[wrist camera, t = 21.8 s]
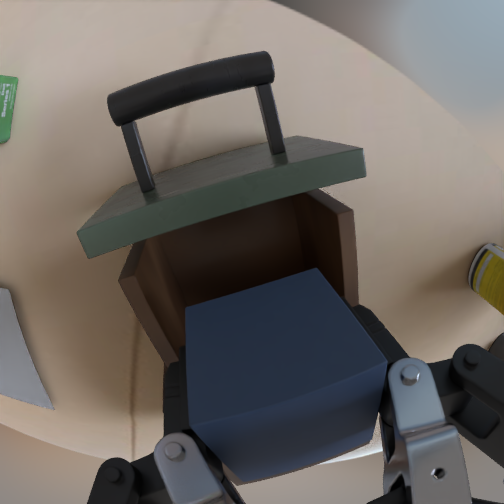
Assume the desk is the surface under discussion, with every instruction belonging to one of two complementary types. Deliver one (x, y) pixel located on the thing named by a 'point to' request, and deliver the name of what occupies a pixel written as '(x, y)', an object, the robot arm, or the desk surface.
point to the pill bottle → (489, 275)
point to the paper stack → (17, 360)
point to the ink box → (6, 105)
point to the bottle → (498, 347)
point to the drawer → (223, 206)
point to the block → (281, 376)
